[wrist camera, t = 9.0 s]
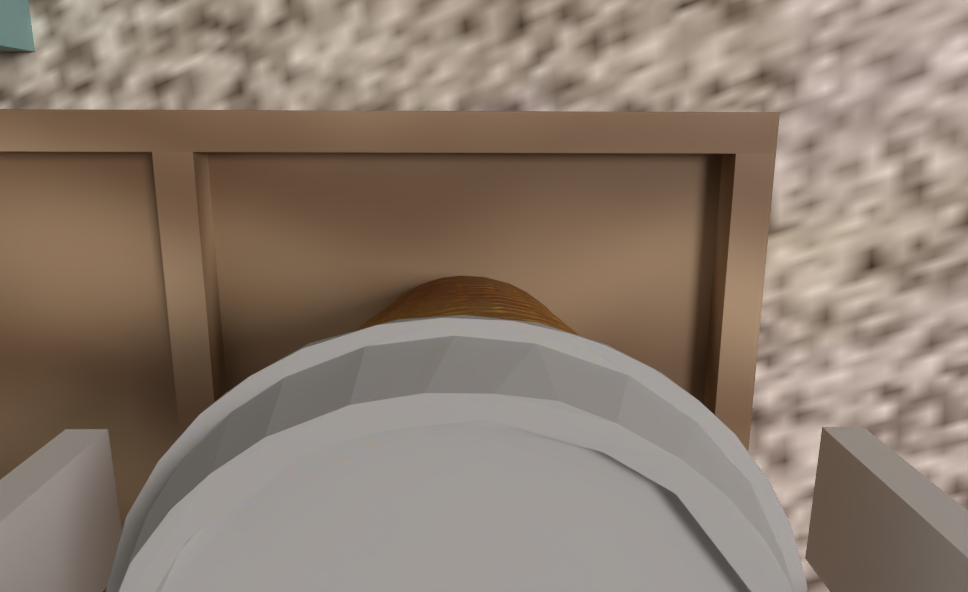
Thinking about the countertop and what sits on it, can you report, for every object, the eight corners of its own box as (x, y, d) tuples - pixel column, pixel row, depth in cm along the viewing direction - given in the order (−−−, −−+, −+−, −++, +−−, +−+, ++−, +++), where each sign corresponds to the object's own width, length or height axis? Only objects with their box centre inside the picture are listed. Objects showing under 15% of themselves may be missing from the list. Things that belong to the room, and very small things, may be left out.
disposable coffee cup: (237, 435, 20) (-77, 841, 9) (408, 147, 19) (299, 173, 7) (517, 589, 22) (569, 1123, 10) (702, 331, 20) (1025, 615, 8)
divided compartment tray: (-179, 111, 20) (-271, 108, 17) (742, 114, 20) (779, 112, 18) (-84, 591, 23) (-150, 646, 21) (703, 585, 24) (730, 638, 21)
